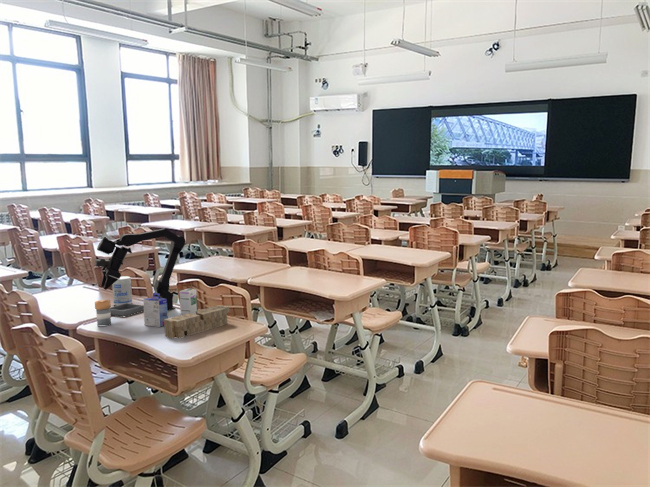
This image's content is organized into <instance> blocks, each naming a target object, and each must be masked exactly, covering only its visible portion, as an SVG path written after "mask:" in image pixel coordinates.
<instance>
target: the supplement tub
mask: <svg viewBox="0 0 650 487" xmlns="http://www.w3.org/2000/svg"><path fill="white" fill-rule="evenodd" d="M111 288H112V301H113V305H114V306H118V305H122V304H126V303H128V304H133V292H132V289H133V288H132V277H131V276H121V277H120V279H118V280H117V281H116V282H114V283H113V284H112V285H111Z"/></svg>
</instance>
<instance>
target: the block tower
mask: <svg viewBox="0 0 650 487" xmlns="http://www.w3.org/2000/svg"><path fill="white" fill-rule="evenodd" d="M228 313H230V307H229V306H226V305H222V304H221V305H218V304H217V305H214V306H211V307H207V308H203V309H202V308H201V309H198V311H196V314H193V313H188V314H184V315H181V314H180V315H176V316H173V317H172V316H171V317H168V319H164V326H163V327H164V333H165V337H167V338H171V339H175V338H177V339H182V338H185V336H187V337H188V336H191V335H195V334H199V333H202V332H206V331H208V330H211V329H216V328H219V327H223V326H225V325H228Z"/></svg>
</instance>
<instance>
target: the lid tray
mask: <svg viewBox="0 0 650 487" xmlns="http://www.w3.org/2000/svg"><path fill="white" fill-rule="evenodd" d="M141 311H143V312H144V304H135V303H131V304H128V303H126V304H122V305H118V306H116V305H114V306H111V307H110V314H111V316H113V317H120V316H126V317H129V316H128V315H130V316H132V315H131V314H133V315H135V314H134V313H136V314H138V313H137V312H140V313H142V312H141Z"/></svg>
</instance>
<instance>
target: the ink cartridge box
mask: <svg viewBox="0 0 650 487" xmlns="http://www.w3.org/2000/svg"><path fill="white" fill-rule="evenodd" d="M156 295H157V296H156ZM159 296H160V294H159V293H155V292H154V293H153V294H152V297H148V298H144V299H143V300H142V301H143V305H144V311H143V317H144V318H143V321H144V322H143V323H144V326H150V327H159V328H161V327H165V326H164V319H169V314H168V313H169V312H168V311H167V299H164V298H160V297H159Z"/></svg>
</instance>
